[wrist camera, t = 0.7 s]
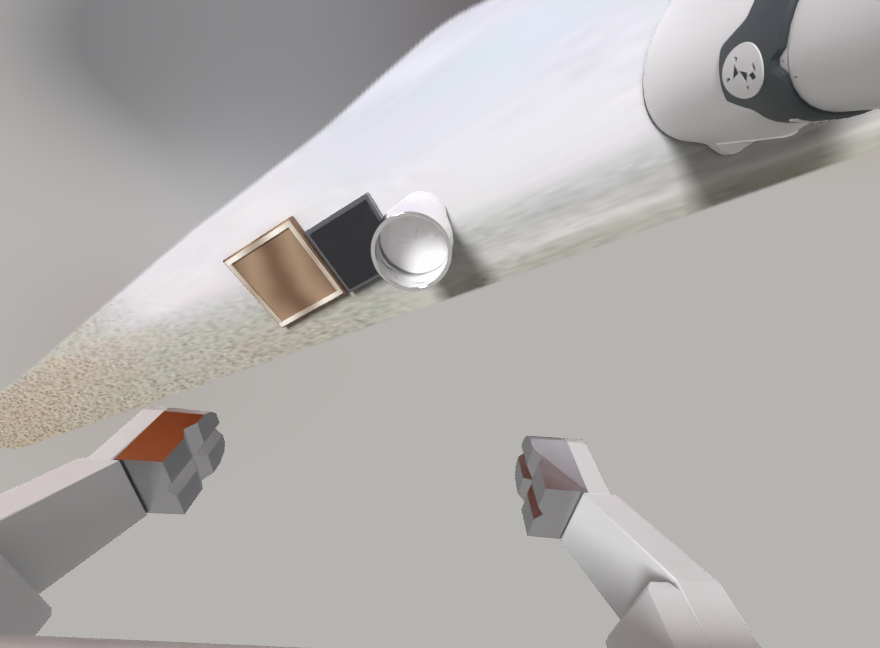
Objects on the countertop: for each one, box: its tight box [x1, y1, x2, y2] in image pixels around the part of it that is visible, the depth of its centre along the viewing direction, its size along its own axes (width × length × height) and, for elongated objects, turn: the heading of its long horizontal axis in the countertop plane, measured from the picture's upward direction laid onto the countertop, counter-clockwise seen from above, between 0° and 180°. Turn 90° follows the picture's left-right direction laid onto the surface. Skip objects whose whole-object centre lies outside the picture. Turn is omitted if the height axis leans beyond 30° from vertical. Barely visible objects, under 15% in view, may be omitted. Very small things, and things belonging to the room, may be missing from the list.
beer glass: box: [371, 191, 453, 291], centre depth 33 cm, size 7×7×15 cm
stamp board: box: [223, 216, 347, 328], centre depth 43 cm, size 11×11×1 cm
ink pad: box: [305, 193, 383, 293], centre depth 41 cm, size 9×9×2 cm
